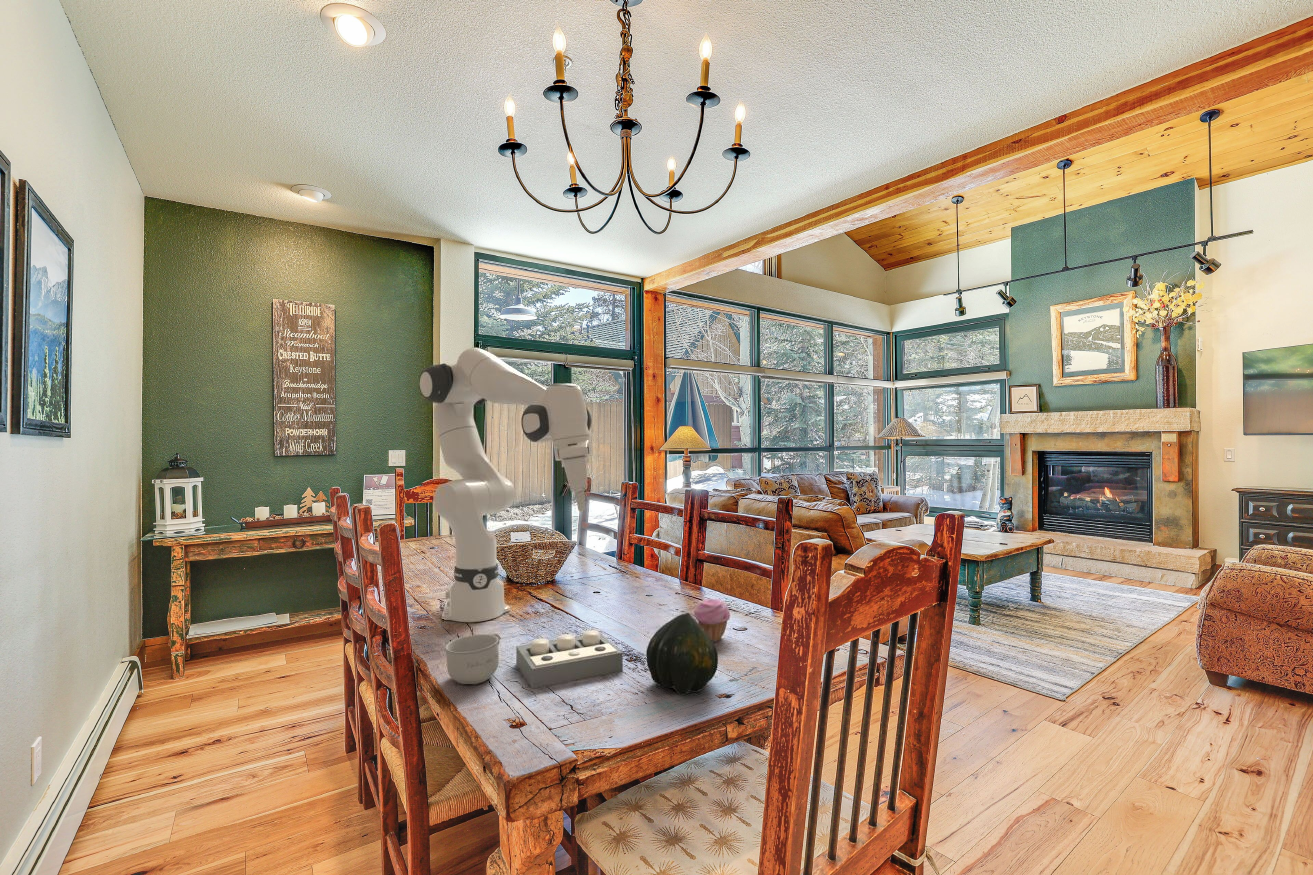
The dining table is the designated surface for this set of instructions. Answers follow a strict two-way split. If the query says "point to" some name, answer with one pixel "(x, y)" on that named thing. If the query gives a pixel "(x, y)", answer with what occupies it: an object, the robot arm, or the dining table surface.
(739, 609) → the dining table surface
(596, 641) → the button
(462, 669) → the teacup
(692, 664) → the squash
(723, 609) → the cupcake
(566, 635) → the button
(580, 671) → the button board
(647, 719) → the dining table surface
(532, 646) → the button
